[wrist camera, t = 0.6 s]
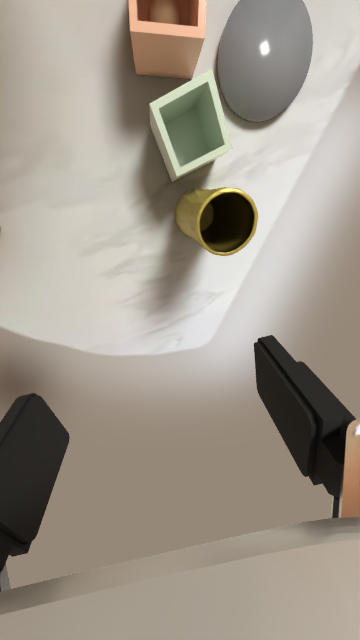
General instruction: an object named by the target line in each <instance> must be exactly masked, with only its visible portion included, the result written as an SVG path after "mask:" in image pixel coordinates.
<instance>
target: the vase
mask: <svg viewBox="0 0 360 640" xmlns="http://www.w3.org/2000/svg"><path fill="white" fill-rule="evenodd" d="M175 217H176V222H177V225H178V227H179V229H180V230H181V231H182V232H183V233H184V234H185V235H187V236H189V237H191V238H193V239H194V240H196V241H197V242H198V243H199V244H200V245H201V246H202V247H203V248H205V249H206V250H207V251H209V252H210V253H212V254H215V255H220V256H228V255H232V254H234V253H236V252H238V251H239V250H241V249H242V248H244V247H245V246H246V245H247V244H248V243H249V241H250V240H251V238H252V237H253V235H254V233H255V231H256V226H257V220H258V213H257V209H256V206H255V203H254V202H253V200H252V199H251V197H250V196H249V195H247V194H246V193H245V192H243V191H242V190H240V189H238V188H226V187H224V188H219V189H213V190H208V189H206V190H204V189H193V190H190V191H188V192H187V193H186V194H184V195H183V196H182V197H181V199H180V200H179V202H178V204H177V207H176V211H175Z"/></svg>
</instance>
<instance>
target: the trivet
mask: <svg viewBox="0 0 360 640" xmlns="http://www.w3.org/2000/svg"><path fill="white" fill-rule="evenodd" d="M312 46H313V35H312V26H311V21H310V17H309V14H308V11H307V9H306V6H305V4H304V2H303V1H302V0H240V1H239V2H238V3H237V5H236V6H235V8H234V9H233V11H232V13H231V15H230V17H229V19H228V21H227V24H226V26H225V28H224V31H223V34H222V37H221V40H220V44H219V49H218V58H217V72H218V80H219V85H220V89H221V92H222V95H223V97H224V99H225V101H226V103H227V105H228V106H229V108H230V109H231V110H232V111H233V112H234V113H235V114H236V115H237V116H239V117H240V118H242V119H244V120H247V121H251V122H261V121H266V120H268V119H271V118H272V117H274V116H276V115H277V114H279V113H280V112H282V111H283V110H284V109H285V108H286V107H287V106H289V105H290V103H291V102H292V101H293V100H294V99H295V97H296V96H297V94H298V93H299V91H300V89H301V87H302V85H303V83H304V81H305V79H306V76H307V73H308V70H309V66H310V62H311V56H312Z"/></svg>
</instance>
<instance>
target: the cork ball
mask: <svg viewBox="0 0 360 640" xmlns="http://www.w3.org/2000/svg"><path fill="white" fill-rule="evenodd" d="M149 22H156V23H166V24H176V25H181V16H180V10H179V7H178V5H177V3H176V1H175V0H153V1H152V4H151V6H150V10H149Z"/></svg>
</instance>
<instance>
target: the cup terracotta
mask: <svg viewBox="0 0 360 640" xmlns="http://www.w3.org/2000/svg"><path fill="white" fill-rule="evenodd" d="M152 1H153V0H128V2H129V20H130V34H131V41H132V48H133V56H134V63H135V70H136V75H149V76H161V77H173V78H186V79H192V77H193V73H194V70H195V67H196V64H197V61H198V58H199V54H200V51H201V48H202V45H203V42H204V39H205V19H206V0H175V1H176V3H177V5H178V7H179V10H180V16H181V25H176V24H166V23H156V22H149V10H150V6H151V4H152Z"/></svg>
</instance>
